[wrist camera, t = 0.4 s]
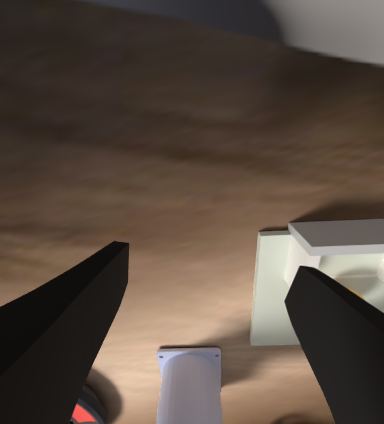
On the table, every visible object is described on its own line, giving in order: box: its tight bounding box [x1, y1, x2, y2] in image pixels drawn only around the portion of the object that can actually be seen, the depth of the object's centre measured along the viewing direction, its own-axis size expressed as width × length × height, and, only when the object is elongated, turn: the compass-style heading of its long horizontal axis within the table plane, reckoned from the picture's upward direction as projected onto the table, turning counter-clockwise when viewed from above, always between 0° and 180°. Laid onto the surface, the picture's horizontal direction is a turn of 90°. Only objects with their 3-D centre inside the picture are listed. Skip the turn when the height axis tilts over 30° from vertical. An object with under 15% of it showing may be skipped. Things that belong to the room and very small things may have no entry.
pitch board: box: [249, 230, 384, 346], centre depth 21 cm, size 15×15×1 cm
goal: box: [284, 219, 384, 288], centre depth 18 cm, size 6×10×4 cm, turn 93°
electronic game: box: [71, 384, 108, 424], centre depth 29 cm, size 23×23×5 cm
